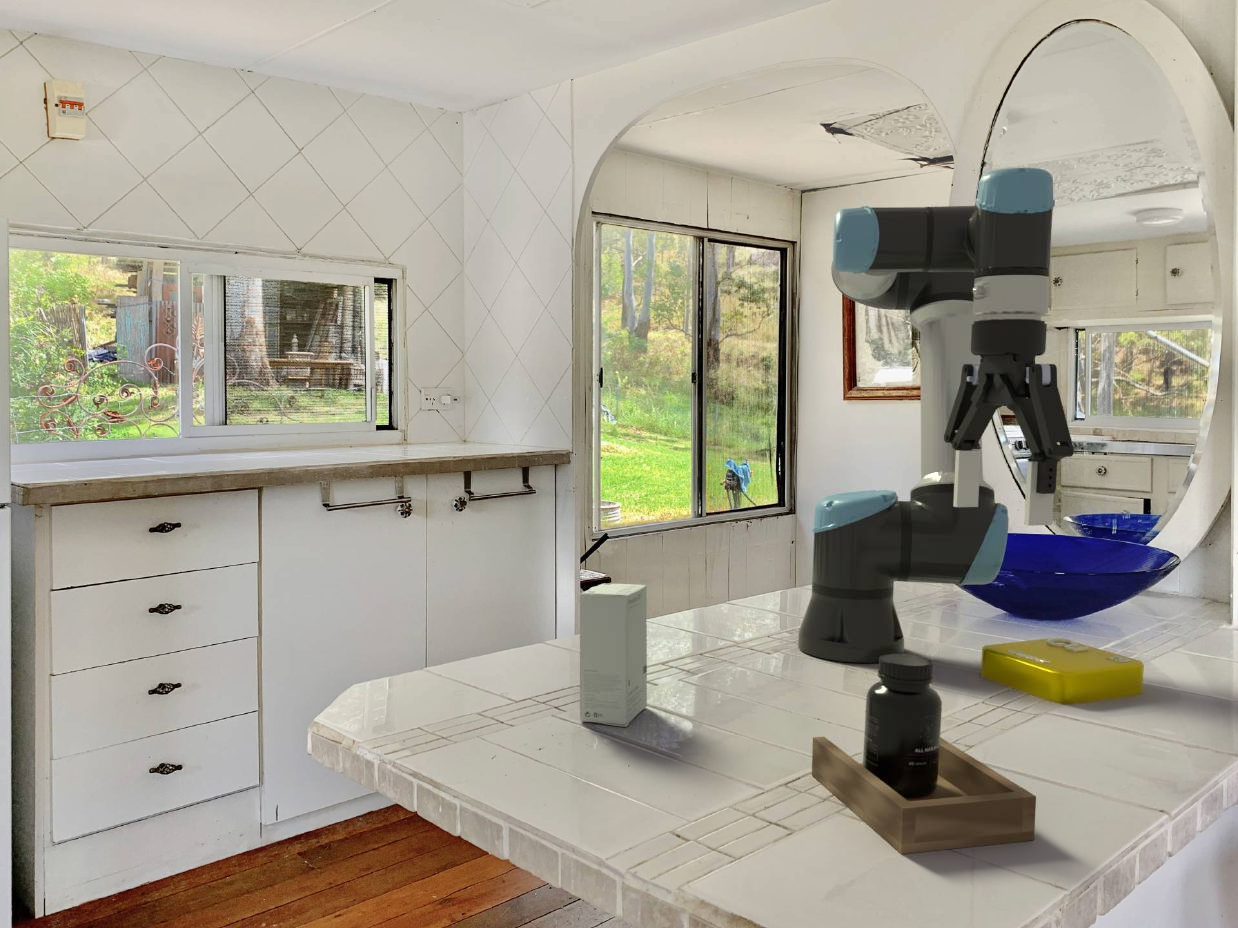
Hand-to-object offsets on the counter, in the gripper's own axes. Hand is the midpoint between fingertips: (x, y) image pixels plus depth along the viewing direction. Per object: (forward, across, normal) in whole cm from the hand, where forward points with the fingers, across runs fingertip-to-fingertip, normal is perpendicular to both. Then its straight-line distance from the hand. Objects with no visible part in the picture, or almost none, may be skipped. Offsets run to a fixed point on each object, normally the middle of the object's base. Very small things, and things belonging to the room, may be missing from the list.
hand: (999, 515), depth 109 cm
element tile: (+26, -16, +20) cm, 37 cm away
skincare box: (+25, -13, -40) cm, 49 cm away
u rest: (+24, +17, -18) cm, 34 cm away
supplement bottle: (+23, +14, -18) cm, 33 cm away
